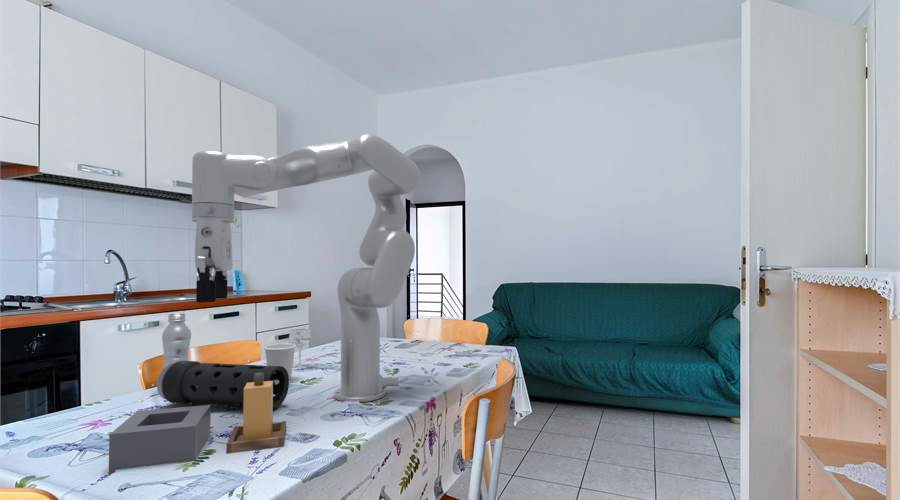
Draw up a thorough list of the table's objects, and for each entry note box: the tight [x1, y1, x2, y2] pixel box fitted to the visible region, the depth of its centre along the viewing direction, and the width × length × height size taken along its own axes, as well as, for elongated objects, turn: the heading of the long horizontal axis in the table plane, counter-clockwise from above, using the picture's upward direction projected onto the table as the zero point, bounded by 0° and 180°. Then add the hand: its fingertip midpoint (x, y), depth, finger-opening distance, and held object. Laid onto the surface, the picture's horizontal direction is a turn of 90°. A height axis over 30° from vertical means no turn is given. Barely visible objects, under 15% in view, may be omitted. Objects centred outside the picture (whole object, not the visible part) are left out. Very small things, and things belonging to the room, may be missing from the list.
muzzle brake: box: [156, 360, 290, 411], centre depth 104 cm, size 10×28×10 cm, turn 78°
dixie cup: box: [263, 342, 297, 384], centre depth 127 cm, size 8×8×10 cm
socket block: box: [108, 405, 212, 474], centre depth 78 cm, size 12×12×6 cm
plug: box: [242, 373, 274, 441], centre depth 83 cm, size 4×4×12 cm
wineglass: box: [288, 328, 312, 368], centre depth 144 cm, size 7×7×12 cm
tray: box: [225, 420, 287, 454], centre depth 83 cm, size 9×9×2 cm
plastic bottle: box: [161, 313, 192, 370], centre depth 117 cm, size 6×7×20 cm
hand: (212, 300), depth 90 cm, fingers open, 9 cm apart
